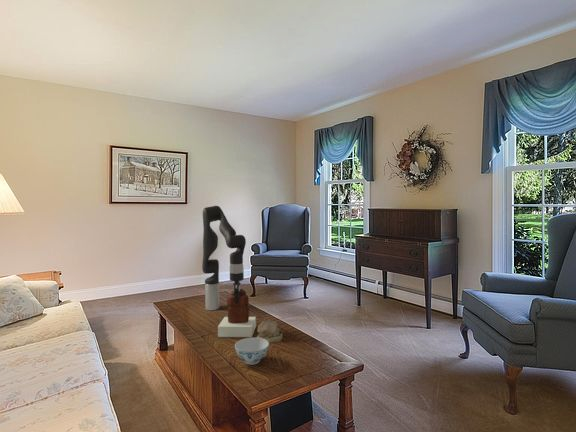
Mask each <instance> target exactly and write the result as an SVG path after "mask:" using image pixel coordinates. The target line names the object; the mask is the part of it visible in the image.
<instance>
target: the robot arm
mask: <svg viewBox="0 0 576 432" xmlns="http://www.w3.org/2000/svg"><path fill="white" fill-rule="evenodd" d="M217 221H220V222H219V227H218V230H219V232H220V234H221V235H222V237H223V238H224V240H225V241H224V242H225V244H226V246H227V248H230V249H235V251H233V252H231V253H230V254H229V280H230V281H231V282H233V283H232V288H233V290H232V291H234V296H235V303H239V292H240V289H241V285H242V284H241V282H242V281H243V280H244V279H245V278H244V277H245V275H244V274H245V273H244V263H243V262H244V259H243V258H244V254H245V253H244V252H245V248H246V245H247V243H246V242H247V239H246V237H245V235H243V234H237V231H236V230H235V229H234V227H233V226H232V224H230V222H229V220H228V219H227V217H226V215H225V213H224V212H223V210H222V208H221V207H220V206H219V205H213V206H207V207H204V208H203V210H202V224H203V225H202V226H203V233H202V234H203V239H202V250H203V253H202V266H201V267H202V273H204V274H212V275H210V276H209V277H207V278H205V280H204V299H205V303H204V304H205V310H206V311H216V310H219V309H220V277H219V274H220V272H219V271H220V270H219V269H220V261H219V260H218V258H217V259H216V258H215V259H214V258H213V259H210V257H211V256H212V254H214V253H215V251H216V250H217V249H218V246H219V237H218V235H217V233H216V232H215V231H214V230H213V228H212V226H211V223H212V222H217ZM236 292H238V294H235V293H236Z"/></svg>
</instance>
